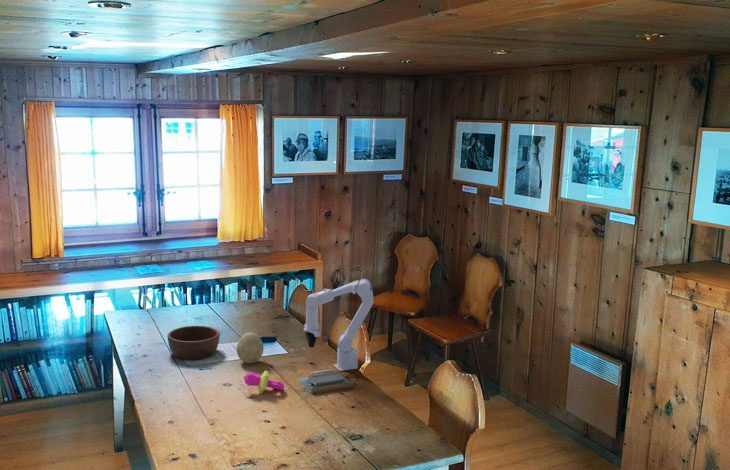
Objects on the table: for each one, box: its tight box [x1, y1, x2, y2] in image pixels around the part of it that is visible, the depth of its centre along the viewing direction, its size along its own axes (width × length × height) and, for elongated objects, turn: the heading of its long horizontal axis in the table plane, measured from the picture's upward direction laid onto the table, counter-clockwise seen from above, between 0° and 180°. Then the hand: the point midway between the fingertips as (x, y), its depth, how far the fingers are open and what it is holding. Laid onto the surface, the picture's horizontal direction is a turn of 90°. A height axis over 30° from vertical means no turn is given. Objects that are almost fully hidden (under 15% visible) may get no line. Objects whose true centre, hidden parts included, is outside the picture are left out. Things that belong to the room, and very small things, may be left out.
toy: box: [243, 370, 286, 395], centre depth 294 cm, size 10×18×10 cm, turn 99°
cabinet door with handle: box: [307, 368, 346, 387], centre depth 304 cm, size 14×9×4 cm, turn 116°
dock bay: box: [296, 373, 355, 395], centre depth 306 cm, size 20×18×3 cm
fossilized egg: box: [236, 331, 264, 364], centre depth 326 cm, size 13×13×15 cm
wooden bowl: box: [166, 325, 221, 361], centre depth 336 cm, size 25×25×10 cm
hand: (311, 346), depth 324 cm, fingers closed
